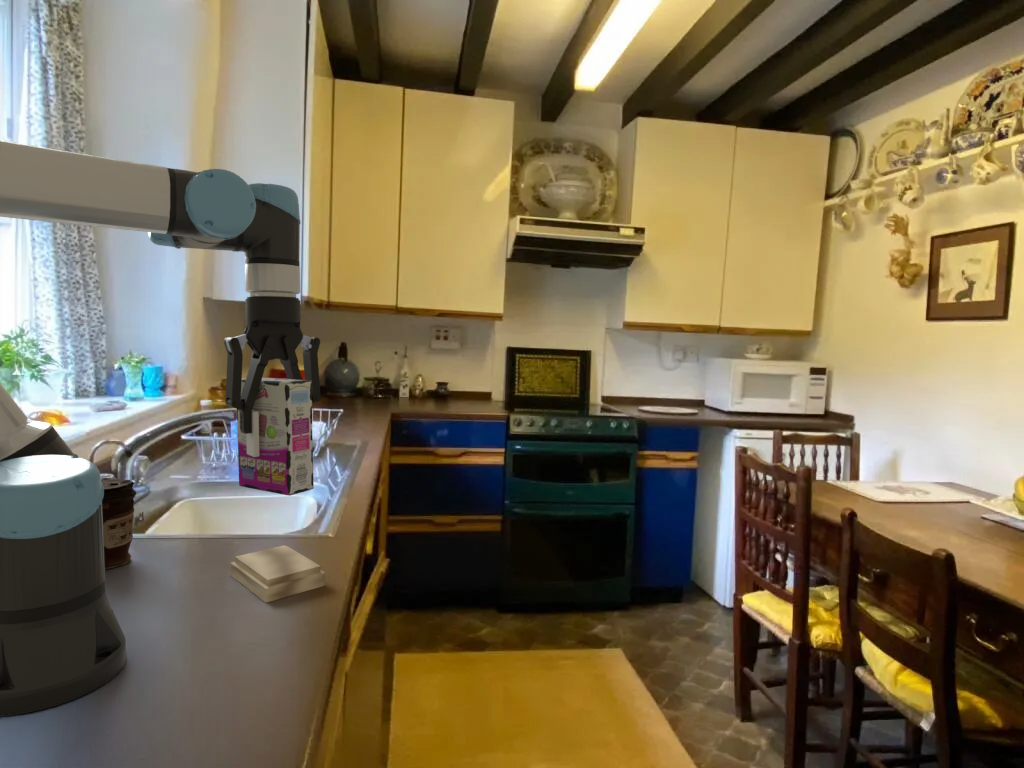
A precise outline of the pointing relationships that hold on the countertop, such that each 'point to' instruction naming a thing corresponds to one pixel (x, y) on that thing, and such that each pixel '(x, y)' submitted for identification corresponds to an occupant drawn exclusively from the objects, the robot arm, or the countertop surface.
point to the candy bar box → (280, 438)
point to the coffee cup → (117, 521)
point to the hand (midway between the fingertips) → (275, 451)
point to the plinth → (277, 573)
